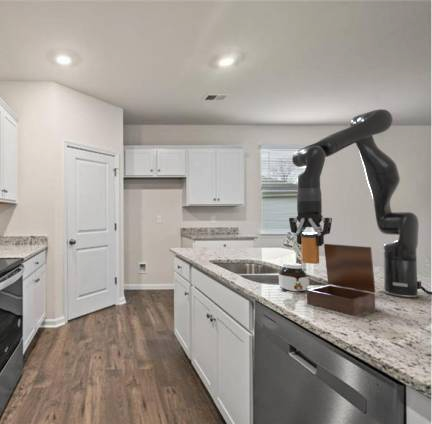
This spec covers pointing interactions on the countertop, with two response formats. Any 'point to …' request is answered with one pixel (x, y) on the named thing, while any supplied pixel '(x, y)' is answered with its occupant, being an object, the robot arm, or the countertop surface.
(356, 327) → the countertop surface
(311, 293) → the chest
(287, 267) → the spread jar
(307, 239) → the jar
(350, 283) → the chest lid
